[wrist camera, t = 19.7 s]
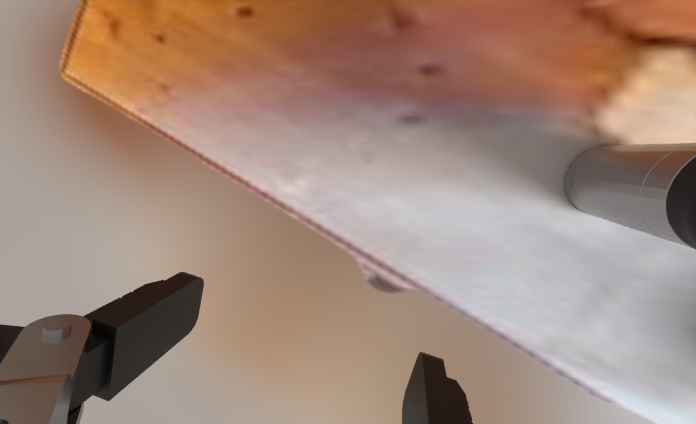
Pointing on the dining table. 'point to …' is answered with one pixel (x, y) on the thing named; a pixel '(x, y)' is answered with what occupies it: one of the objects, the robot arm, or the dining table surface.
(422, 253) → the dining table surface
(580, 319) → the dining table surface
